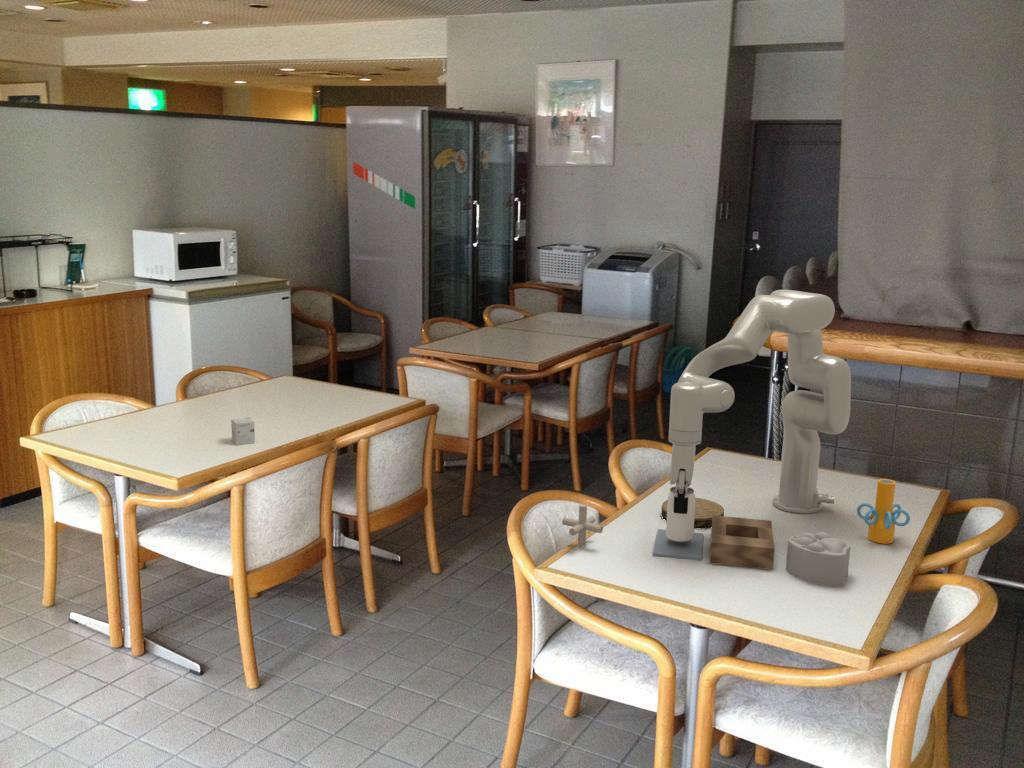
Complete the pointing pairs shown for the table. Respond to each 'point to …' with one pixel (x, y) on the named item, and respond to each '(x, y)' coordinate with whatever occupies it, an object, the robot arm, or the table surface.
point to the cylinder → (883, 514)
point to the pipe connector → (582, 525)
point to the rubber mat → (678, 547)
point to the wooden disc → (700, 512)
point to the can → (680, 518)
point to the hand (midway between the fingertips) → (681, 507)
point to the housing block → (742, 542)
